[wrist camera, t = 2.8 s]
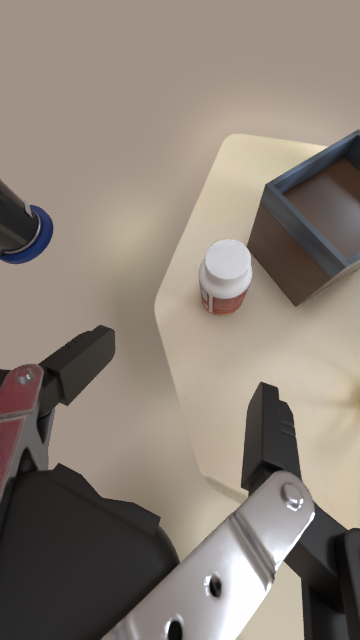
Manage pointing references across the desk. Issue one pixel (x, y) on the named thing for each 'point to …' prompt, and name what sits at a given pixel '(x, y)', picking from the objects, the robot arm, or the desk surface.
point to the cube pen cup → (311, 222)
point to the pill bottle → (225, 276)
